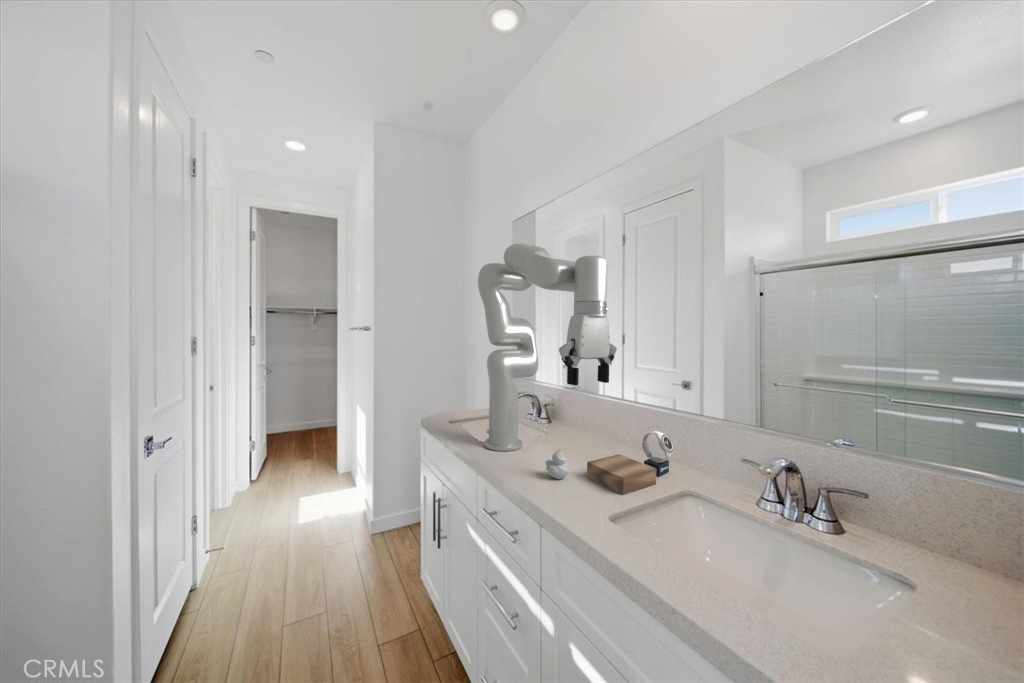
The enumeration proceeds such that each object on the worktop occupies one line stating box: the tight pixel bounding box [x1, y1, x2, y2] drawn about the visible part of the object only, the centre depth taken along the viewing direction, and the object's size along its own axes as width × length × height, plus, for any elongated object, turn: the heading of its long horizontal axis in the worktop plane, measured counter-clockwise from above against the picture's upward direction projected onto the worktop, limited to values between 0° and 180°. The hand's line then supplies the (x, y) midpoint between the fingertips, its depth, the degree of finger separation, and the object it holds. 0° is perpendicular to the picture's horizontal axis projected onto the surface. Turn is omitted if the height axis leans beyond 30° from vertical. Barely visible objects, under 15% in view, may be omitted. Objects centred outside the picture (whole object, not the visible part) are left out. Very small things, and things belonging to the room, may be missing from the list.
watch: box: [641, 430, 675, 478], centre depth 99 cm, size 6×8×11 cm
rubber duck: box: [545, 447, 569, 480], centre depth 95 cm, size 5×7×8 cm
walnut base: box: [586, 454, 657, 496], centre depth 93 cm, size 12×12×4 cm
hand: (588, 383), depth 86 cm, fingers open, 9 cm apart
